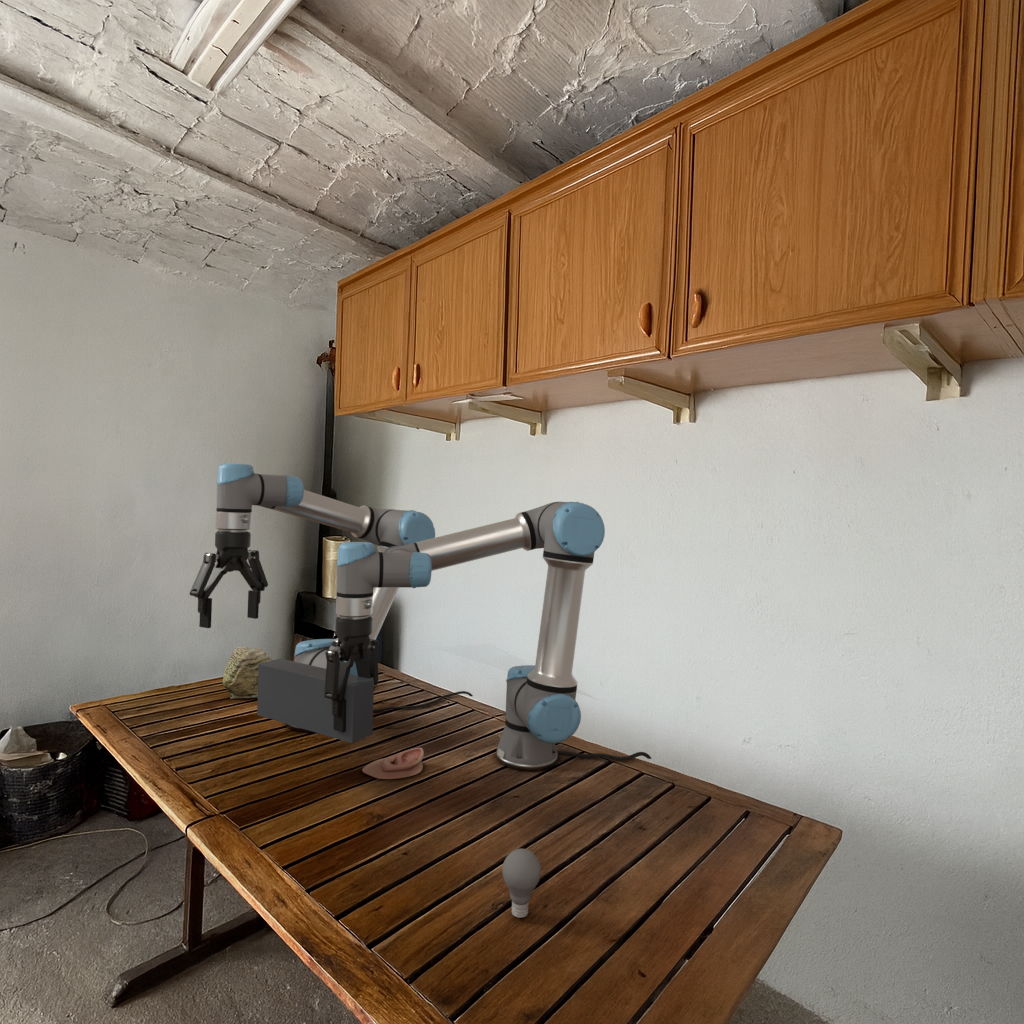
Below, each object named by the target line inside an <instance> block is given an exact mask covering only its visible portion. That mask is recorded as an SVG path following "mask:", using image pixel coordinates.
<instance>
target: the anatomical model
mask: <svg viewBox="0 0 1024 1024" xmlns="http://www.w3.org/2000/svg"><path fill="white" fill-rule="evenodd" d="M424 755H425V751H424V749H423V748H422V747H414V748H410V749H407V750H404V751H401V752H398V753H396V754H393V755H391V756H388V757H384V758H380V759H375V760H373V761H372V762H369V763H368V764H366V765H365V766H364V767H363V768H362V770H361V771H362V773H363V774H366V775H368V776H369V777H372V778H375V779H379V780H394V779H395V780H396V779H404V778H408V777H412V776H415V775H418V774H420V773H421V772H422V771H423V768H424V765H423V762H422V761H423V759H424Z"/></svg>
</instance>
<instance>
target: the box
mask: <svg viewBox="0 0 1024 1024" xmlns="http://www.w3.org/2000/svg"><path fill="white" fill-rule="evenodd" d="M325 679H326V669H325V668H320V667H316V666H312V665H307V664H303V663H298V662H295V660H290V659H285V658H281V657H280V658H277V659H272V661H268V662H264V663H260V664H258V697H257V704H256V705H257V707H256V710H257V711H256V715H257V716H259V717H263V718H265V719H269V720H272V721H276V722H279V723H282V724H285V725H286V724H289V725H292V726H296V727H299V728H302V729H306V730H309V731H313V732H312V733H316V734H320V735H323V736H326V737H329V738H333V739H336V740H339V741H343V742H347V743H350V744H354V743H357V742H359V741H361V740H363V739H365V738H367V737H369V736H372V735H373V733H374V731H373V730H374V729H373V728H374V712H373V710H374V697H375V696H374V695H375V690H374V687H375V685H374V679H369V678H364V677H360V676H356V675H351V674H349V677H348V681H347V685H346V690H345V694H344V698H343V699H346V731H345V732H340V731H337V730H333V725H334V715H333V714H332V699H328V698H325V697H324V692H325ZM338 694H339V693H338Z"/></svg>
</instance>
